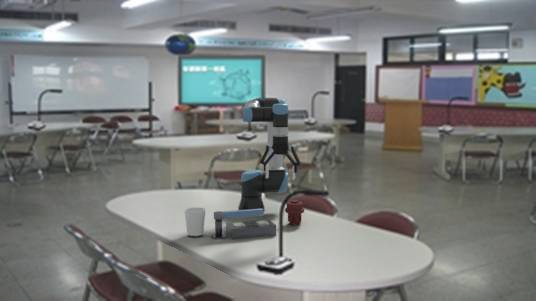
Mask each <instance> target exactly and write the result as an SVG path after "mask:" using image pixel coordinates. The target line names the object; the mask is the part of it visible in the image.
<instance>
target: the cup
mask: <svg viewBox="0 0 536 301" xmlns="http://www.w3.org/2000/svg"><path fill="white" fill-rule="evenodd" d="M184 215H185V216H184V217H185V225H186V232H187V235H188V237H190V238H192V237H193V238H198V237H203V235H204V230H205V219H206V218H205V217H206V208H203V207H198V206H197V207H189V208H186V209H184Z"/></svg>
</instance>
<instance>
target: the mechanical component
mask: <svg viewBox="0 0 536 301" xmlns="http://www.w3.org/2000/svg"><path fill="white" fill-rule="evenodd" d="M303 206H304V203H303V202H302V201H299V200H298V199H292V200H290V201H288V202H286V207H285V209H284V212H285V213H286V214H287V222H288V223H289V224H291V225H292V226H297V225H300V224H301V223H302V214H303V213H305V208H304V207H303Z"/></svg>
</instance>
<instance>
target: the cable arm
mask: <svg viewBox="0 0 536 301" xmlns="http://www.w3.org/2000/svg"><path fill="white" fill-rule="evenodd" d="M263 216H264V212H263V209H249V210H226V211H214V212H213V219H214V221H215V220H221V219H222V220H226V219H238V218H249V217H250V218H251V217H263Z"/></svg>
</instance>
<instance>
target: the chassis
mask: <svg viewBox="0 0 536 301" xmlns="http://www.w3.org/2000/svg"><path fill="white" fill-rule="evenodd" d="M225 235H226V236H228V237H229V238H230V239H231V240H241V239H243V240H244V239H251V238H264V237H272V236H274V237H275V236H277V225H276V224H275V223H274V222H272V221H271V220H270V219H257V220H247V221H246V220H245V221H244V220H243V221H233V222H225Z"/></svg>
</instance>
